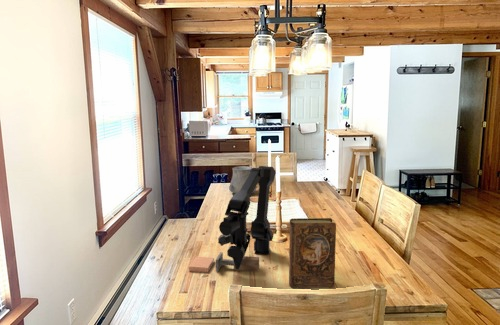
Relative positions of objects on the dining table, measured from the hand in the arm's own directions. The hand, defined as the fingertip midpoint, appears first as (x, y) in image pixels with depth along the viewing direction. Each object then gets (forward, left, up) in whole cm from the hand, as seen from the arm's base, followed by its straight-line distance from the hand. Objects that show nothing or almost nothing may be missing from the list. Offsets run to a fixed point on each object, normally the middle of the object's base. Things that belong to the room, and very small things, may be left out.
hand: (239, 264), depth 153 cm
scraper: (0, 0, -2) cm, 2 cm away
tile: (+12, 0, -1) cm, 12 cm away
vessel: (+21, -125, -2) cm, 127 cm away
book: (-29, +9, -2) cm, 30 cm away
